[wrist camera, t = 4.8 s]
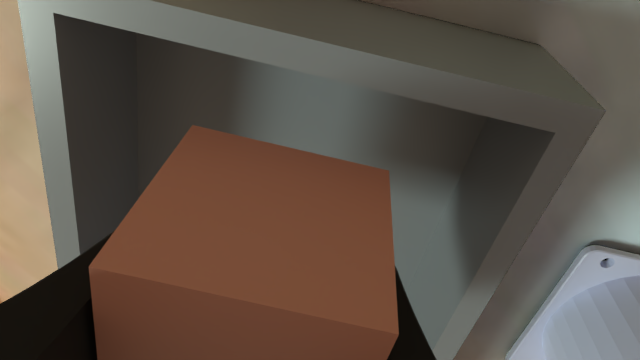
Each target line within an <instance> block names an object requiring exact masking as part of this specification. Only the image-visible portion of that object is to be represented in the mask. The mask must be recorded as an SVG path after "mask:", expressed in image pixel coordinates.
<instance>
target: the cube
mask: <svg viewBox="0 0 640 360" xmlns="http://www.w3.org/2000/svg"><path fill="white" fill-rule="evenodd" d="M89 276H90V287H91V297H92V308H93V318H94V329H95V339H96V349H97V360H387V358H388V356H389V354H390V352H391V350H392V348H393V346H394V344H395V342H396V340H397V337H398V335H399V328H398V312H397V295H396V278H395V262H394V245H393V228H392V212H391V195H390V179H389V170H384V169H380V168H376V167H371V166H367V165H363V164H358V163H354V162H350V161H346V160H341V159H337V158H333V157H328V156H324V155H320V154H315V153H311V152H307V151H302V150H298V149H294V148H290V147H285V146H281V145H277V144H272V143H268V142H264V141H259V140H255V139H251V138H247V137H242V136H238V135H234V134H229V133H225V132H221V131H216V130H212V129H208V128H203V127H199V126H195V125H192V126H191V128H190V129H189V130H188V132H187V133H186V135H185V136H184V137H183V139H182V140H181V141H180V143H179V144H178V145H177V147H176V148H175V150H174V151H173V152H172V154H171V155H170V156H169V158H168V159H167V160H166V162H165V163H164V164H163V166H162V167H161V169H160V170H159V171H158V173H157V174H156V175H155V177H154V178H153V179H152V181H151V182H150V184H149V185H148V186H147V188H146V189H145V190H144V192H143V193H142V194H141V196H140V197H139V199H138V200H137V201H136V203H135V204H134V205H133V207H132V208H131V209H130V211H129V212H128V214H127V215H126V216H125V218H124V219H123V220H122V222H121V223H120V224H119V226H118V227H117V229H116V230H115V231H114V233H113V234H112V235H111V237H110V238H109V239H108V241H107V242H106V244H105V245H104V246H103V248H102V249H101V250H100V252H99V253H98V254H97V256H96V257H95V259H94V260H93V261H92V263H91V264H90V265H89Z"/></svg>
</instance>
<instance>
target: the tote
mask: <svg viewBox="0 0 640 360" xmlns="http://www.w3.org/2000/svg"><path fill="white" fill-rule="evenodd" d="M18 6H19V13H20V19H21V26H22V32H23V39H24V46H25V52H26V59H27V66H28V72H29V79H30V86H31V92H32V99H33V105H34V112H35V119H36V125H37V132H38V139H39V145H40V152H41V158H42V165H43V172H44V178H45V185H46V192H47V198H48V205H49V211H50V218H51V225H52V231H53V238H54V245H55V251H56V258H57V265H58V269H59V268H61V267H63V266H64V265H66V264H67V263H69V262H70V261H72V260H73V259H75V258H76V257H78V256H79V255H80V254H82V253H83V252H85V251H86V250H88V249H89V248H91V247H92V246H93V245H95V244H96V243H98V242H99V241H101V240H102V239H103V238H105V237H106V236H107V235H109V234H110V233H112V232H113V231H114V230H116V229H117V227H118V226H119V224H120V223H121V222H122V220H123V219H124V218H125V216H126V215H127V214H128V212H129V211H130V209H131V208H132V207H133V205H134V204H135V203H136V201H137V200H138V199H139V197H140V196H141V194H142V193H143V192H144V190H145V189H146V188H147V186H148V185H149V184H150V182H151V181H152V179H153V178H154V177H155V175H156V174H157V173H158V171H159V170H160V169H161V167H162V166H163V164H164V163H165V162H166V160H167V159H168V158H169V156H170V155H171V154H172V152H173V151H174V150H175V148H176V147H177V145H178V144H179V143H180V141H181V140H182V139H183V137H184V136H185V135H186V133H187V132H188V130H189V129H190V128H191V126H192V125H195V126H199V127H203V128H208V129H212V130H216V131H221V132H225V133H229V134H234V135H238V136H242V137H247V138H251V139H255V140H259V141H264V142H268V143H272V144H277V145H281V146H285V147H290V148H294V149H298V150H302V151H307V152H311V153H315V154H320V155H324V156H328V157H333V158H337V159H341V160H346V161H350V162H354V163H358V164H363V165H367V166H371V167H376V168H380V169H384V170H389V179H390V195H391V212H392V228H393V245H394V262H395V267H396V268H397V271H398V273H399V276H400V279H401V281H402V284H403V287H404V289H405V292H406V294H407V297H408V299H409V302H410V304H411V306H412V309H413V311H414V313H415V316H416V318H417V320H418V322H419V324H420V327H421V329H422V331H423V333H424V335H425V337H426V339H427V341H428V344H429V346H430V348H431V350H432V352H433V354H434V356H435V357H436V359H437V360H453V359H454V357H455V355H456V354H457V352H458V350H459V349H460V347H461V346H462V344H463V342H464V341H465V339H466V337H467V336H468V334H469V333H470V331H471V329H472V328H473V326H474V324H475V323H476V321H477V320H478V318H479V316H480V315H481V313H482V311H483V310H484V308H485V307H486V305H487V303H488V302H489V300H490V298H491V297H492V295H493V294H494V292H495V290H496V289H497V287H498V285H499V284H500V282H501V281H502V279H503V277H504V276H505V274H506V272H507V271H508V269H509V268H510V266H511V264H512V263H513V261H514V259H515V258H516V256H517V255H518V253H519V251H520V250H521V248H522V246H523V245H524V243H525V242H526V240H527V238H528V237H529V235H530V233H531V232H532V230H533V229H534V227H535V225H536V224H537V222H538V220H539V219H540V217H541V216H542V214H543V212H544V211H545V209H546V207H547V206H548V204H549V203H550V201H551V199H552V198H553V196H554V194H555V193H556V191H557V190H558V188H559V186H560V185H561V183H562V181H563V180H564V178H565V177H566V175H567V173H568V172H569V170H570V168H571V167H572V165H573V164H574V162H575V160H576V159H577V157H578V155H579V154H580V152H581V151H582V149H583V147H584V146H585V144H586V142H587V141H588V139H589V138H590V136H591V134H592V133H593V131H594V129H595V128H596V126H597V125H598V123H599V121H600V120H601V118H602V116H603V115H604V113H605V112H606V110H605V109H604V108H603V107H602V106H601V105H600V104H599V103H598V102H597V101H596V100H595V99H594V98H593V97H592V96H591V95H590V94H589V93H588V92H587V91H586V90H585V89H584V88H583V87H582V86H581V85H580V84H579V83H578V82H577V81H576V80H575V79H574V78H573V77H572V76H571V75H570V74H569V73H568V72H567V71H566V70H565V69H564V68H563V67H562V66H561V65H560V64H559V63H558V62H557V61H556V60H555V59H554V58H553V57H552V56H551V55H550V54H549V53H548V52H547V51H546V50H545V49H544V48H543V47H542V46H541V45H538V44H534V43H530V42H526V41H522V40H518V39H514V38H510V37H506V36H502V35H498V34H493V33H489V32H485V31H481V30H477V29H473V28H469V27H465V26H461V25H457V24H453V23H449V22H445V21H441V20H437V19H433V18H428V17H424V16H420V15H416V14H412V13H408V12H404V11H400V10H396V9H392V8H388V7H384V6H380V5H376V4H372V3H368V2H363V1H359V0H18Z"/></svg>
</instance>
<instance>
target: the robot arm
mask: <svg viewBox="0 0 640 360" xmlns="http://www.w3.org/2000/svg"><path fill="white" fill-rule="evenodd" d="M114 231H115V230H114ZM114 231H113V232H112V233H110V234H109V235H107V236H106V237H105V238H103V239H102V240H101V241H99V242H98V243H96V244H95V245H93V246H92V247H91V248H89V249H88V250H86V251H85V252H83V253H82V254H80V255H79V256H78V257H76V258H75V259H73V260H72V261H70V262H69V263H67V264H66V265H64V266H63V267H61V268H59V269H58V270H56V271H55V272H53V273H52V274H50V275H48V276H47V277H45V278H44V279H42V280H40V281H39V282H37V283H36V284H34V285H32V286H31V287H29V288H27V289H26V290H24V291H22V292H20V293H19V294H17V295H15V296H13V297H12V298H10V299H8V300H6V301H4V302H3V303H1V304H0V360H97V349H96V339H95V329H94V318H93V308H92V297H91V287H90V276H89V265H90V264H91V263H92V261H93V260H94V259H95V257H96V256H97V254H98V253H99V252H100V250H101V249H102V248H103V246H104V245H105V244H106V242H107V241H108V239H109V238H110V237H111V235H112V234H113V233H114ZM606 258H609V259H607V260H605V261H602V260H604V259H606ZM395 278H396V295H397V312H398V328H399V335H398V337H397V340H396V342H395V344H394V346H393V348H392V350H391V352H390V354H389V356H388V358H387V360H437V359H436V357H435V356H434V354H433V352H432V350H431V348H430V346H429V344H428V341H427V339H426V337H425V335H424V333H423V331H422V329H421V327H420V324H419V322H418V320H417V318H416V316H415V313H414V311H413V309H412V306H411V304H410V302H409V299H408V297H407V294H406V292H405V289H404V287H403V284H402V281H401V279H400V276H399V273H398V271H397V268H396V267H395ZM505 359H506V360H640V255H638V254H634V253H629V252H625V251H621V250H616V249H612V248H608V247H603V246H599V245H591V246H587V247H585V248H584V249H583V250H581V251H580V253H579V254H578V255H577V257H576V258H575V260H574V261H573V262H572V264H571V265H570V267H569V268H568V269H567V271H566V272H565V274H564V275H563V276H562V278H561V279H560V281H559V282H558V283H557V285H556V286H555V288H554V289H553V290H552V292H551V293H550V295H549V296H548V297H547V299H546V300H545V302H544V303H543V304H542V306H541V307H540V309H539V310H538V311H537V313H536V314H535V316H534V317H533V318H532V320H531V321H530V323H529V324H528V325H527V327H526V328H525V330H524V331H523V332H522V334H521V335H520V336H519V338H518V339H517V341H516V342H515V343H514V345H513V346H512V348H511V349H510V350H509V352H508V353H507V355H506V357H505Z"/></svg>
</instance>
